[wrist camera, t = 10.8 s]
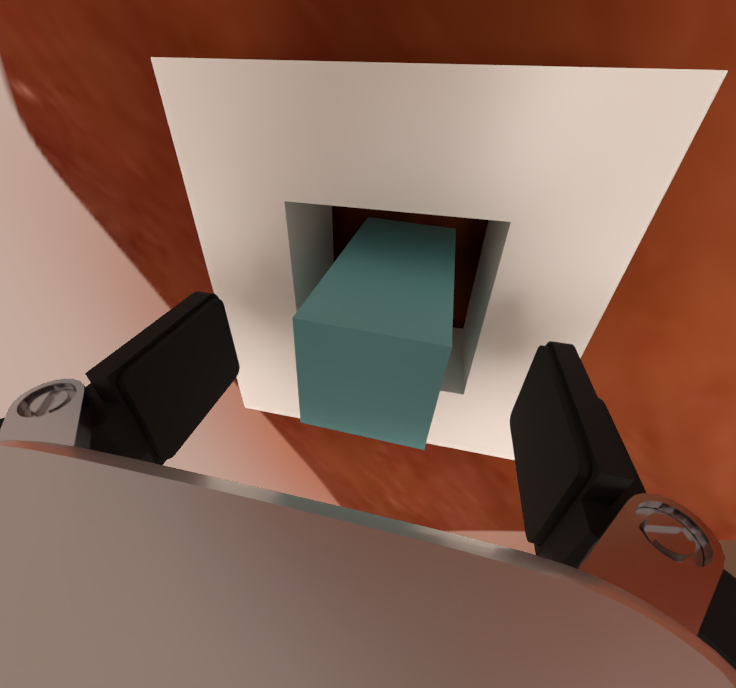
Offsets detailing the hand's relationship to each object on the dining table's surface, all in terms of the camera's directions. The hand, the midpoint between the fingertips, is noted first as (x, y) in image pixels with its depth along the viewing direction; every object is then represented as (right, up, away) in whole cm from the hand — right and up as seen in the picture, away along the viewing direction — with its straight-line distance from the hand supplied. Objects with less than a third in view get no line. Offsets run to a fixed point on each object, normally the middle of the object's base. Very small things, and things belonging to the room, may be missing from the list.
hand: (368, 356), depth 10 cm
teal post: (+2, +4, +6) cm, 8 cm away
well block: (+2, +5, +6) cm, 8 cm away
